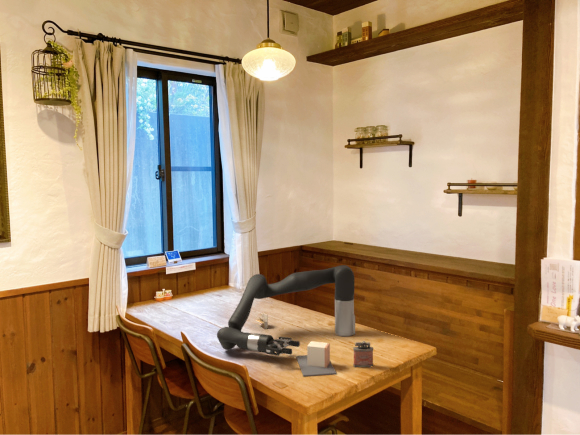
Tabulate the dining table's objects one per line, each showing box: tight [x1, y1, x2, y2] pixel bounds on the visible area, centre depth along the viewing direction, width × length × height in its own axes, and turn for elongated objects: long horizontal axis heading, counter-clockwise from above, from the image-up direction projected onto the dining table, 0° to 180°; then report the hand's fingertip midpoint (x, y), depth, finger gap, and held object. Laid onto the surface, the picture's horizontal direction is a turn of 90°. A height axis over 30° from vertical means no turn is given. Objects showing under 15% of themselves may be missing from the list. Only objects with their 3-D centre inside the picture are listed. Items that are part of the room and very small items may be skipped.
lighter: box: [352, 340, 374, 368], centre depth 179 cm, size 8×3×10 cm, turn 92°
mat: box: [295, 354, 337, 377], centre depth 181 cm, size 13×19×1 cm
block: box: [306, 340, 331, 368], centre depth 181 cm, size 8×6×8 cm
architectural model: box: [255, 312, 269, 330], centre depth 228 cm, size 3×7×7 cm, turn 32°
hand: (295, 347), depth 183 cm, fingers open, 8 cm apart
